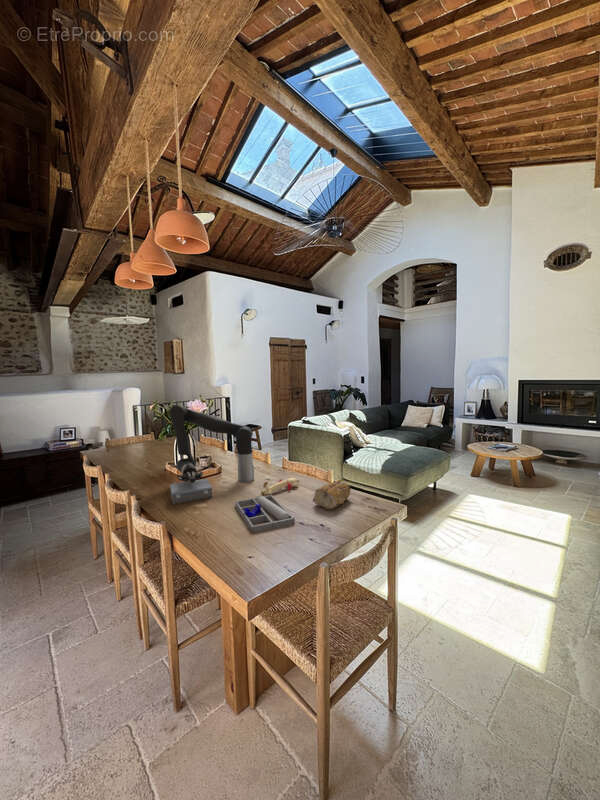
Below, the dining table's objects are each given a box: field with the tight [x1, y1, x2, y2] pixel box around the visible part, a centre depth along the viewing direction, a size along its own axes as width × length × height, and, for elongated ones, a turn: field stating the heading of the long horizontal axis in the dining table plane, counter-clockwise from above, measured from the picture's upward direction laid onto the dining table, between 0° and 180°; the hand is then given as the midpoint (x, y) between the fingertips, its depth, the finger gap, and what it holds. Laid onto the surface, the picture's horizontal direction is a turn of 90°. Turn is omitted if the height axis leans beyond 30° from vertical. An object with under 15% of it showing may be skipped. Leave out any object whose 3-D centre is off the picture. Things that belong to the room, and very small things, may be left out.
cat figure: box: [260, 477, 300, 496], centre depth 194 cm, size 10×9×25 cm
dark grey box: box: [169, 486, 213, 505], centre depth 187 cm, size 20×15×5 cm
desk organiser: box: [234, 494, 296, 533], centre depth 163 cm, size 19×31×2 cm, turn 24°
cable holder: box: [244, 504, 262, 518], centre depth 161 cm, size 8×4×4 cm, turn 134°
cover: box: [169, 478, 213, 495], centre depth 186 cm, size 20×15×1 cm
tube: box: [256, 495, 290, 521], centre depth 164 cm, size 5×5×25 cm
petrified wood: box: [312, 479, 351, 511], centre depth 175 cm, size 19×13×10 cm
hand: (192, 480), depth 176 cm, fingers closed
